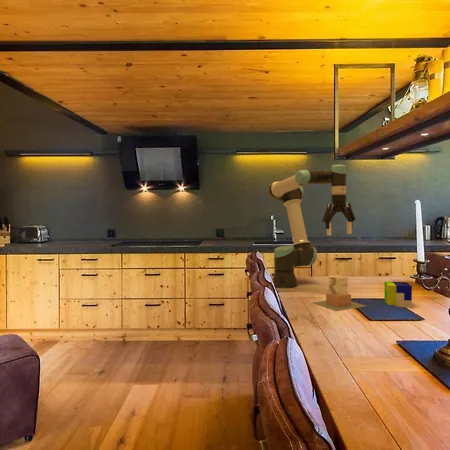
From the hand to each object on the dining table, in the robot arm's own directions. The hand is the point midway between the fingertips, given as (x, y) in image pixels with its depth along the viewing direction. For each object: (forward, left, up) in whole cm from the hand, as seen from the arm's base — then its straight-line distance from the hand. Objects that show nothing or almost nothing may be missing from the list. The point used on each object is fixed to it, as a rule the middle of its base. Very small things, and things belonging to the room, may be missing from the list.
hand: (339, 234), depth 215 cm
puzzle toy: (+31, +8, -32) cm, 45 cm away
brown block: (+20, -18, -26) cm, 37 cm away
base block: (+20, -18, -31) cm, 41 cm away
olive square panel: (+20, -18, -32) cm, 42 cm away
